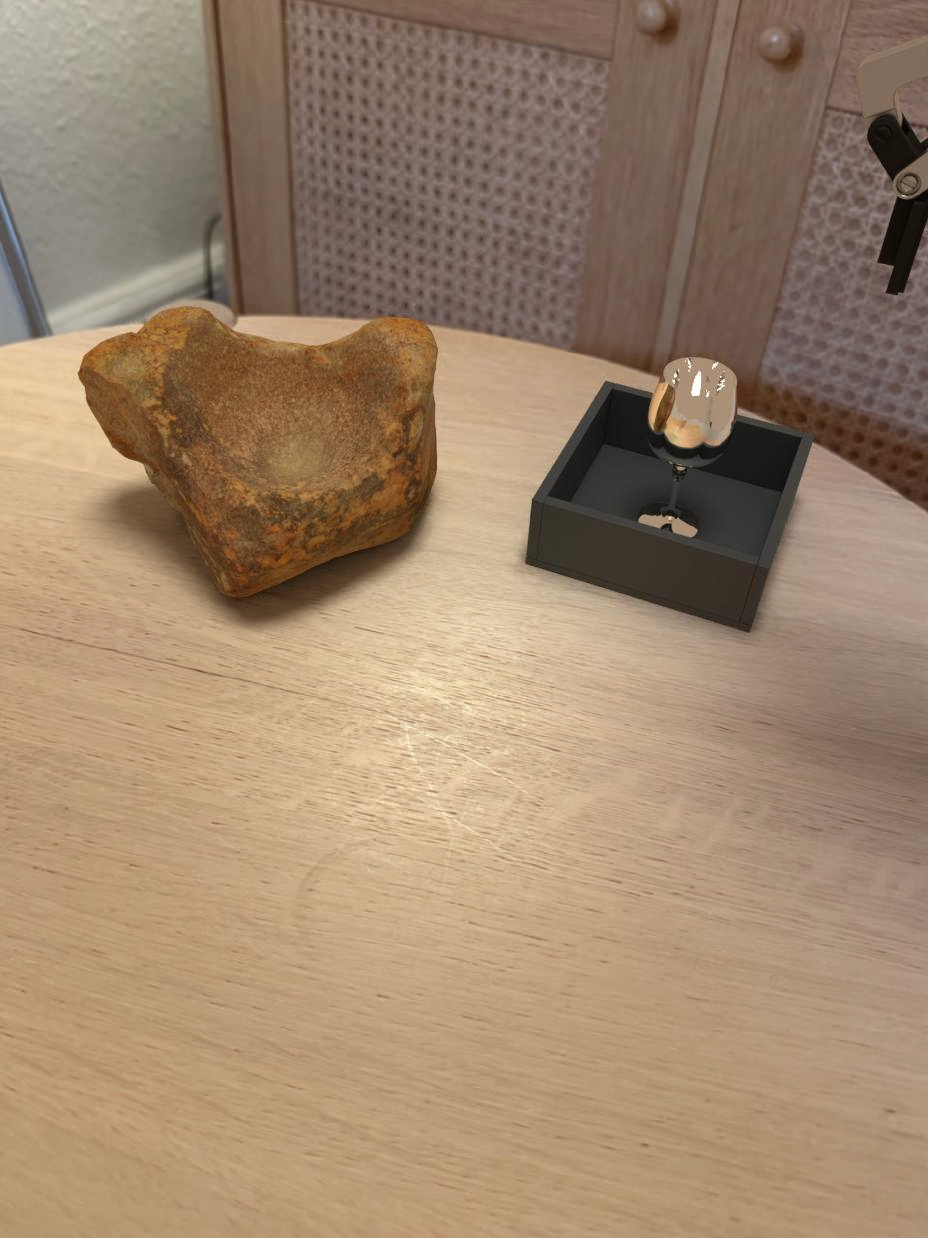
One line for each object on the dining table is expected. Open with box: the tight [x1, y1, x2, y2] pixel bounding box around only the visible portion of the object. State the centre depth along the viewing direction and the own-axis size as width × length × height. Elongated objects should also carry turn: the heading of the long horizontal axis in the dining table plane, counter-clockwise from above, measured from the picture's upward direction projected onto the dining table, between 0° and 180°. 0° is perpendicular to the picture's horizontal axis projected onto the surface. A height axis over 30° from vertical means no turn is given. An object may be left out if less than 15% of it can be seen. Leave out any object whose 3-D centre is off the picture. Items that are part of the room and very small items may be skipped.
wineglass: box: [637, 356, 739, 538], centre depth 72 cm, size 6×6×12 cm
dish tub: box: [525, 380, 816, 633], centre depth 75 cm, size 16×16×6 cm
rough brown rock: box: [77, 305, 439, 598], centre depth 70 cm, size 23×17×15 cm
